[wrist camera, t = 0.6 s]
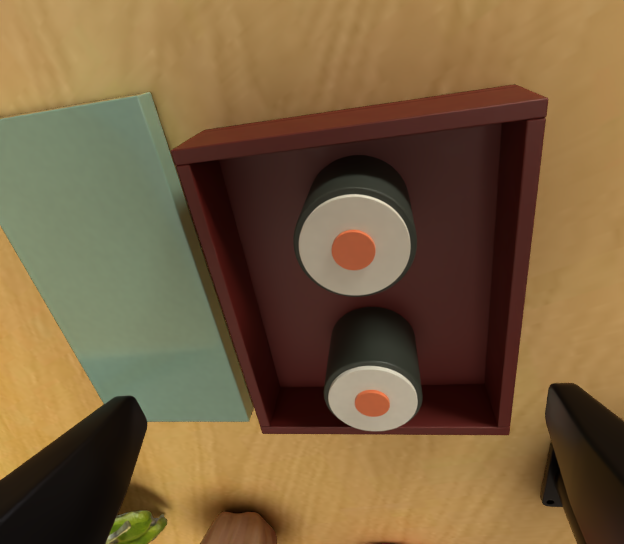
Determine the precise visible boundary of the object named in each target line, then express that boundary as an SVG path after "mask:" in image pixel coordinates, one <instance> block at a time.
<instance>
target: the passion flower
mask: <svg viewBox="0 0 624 544" xmlns="http://www.w3.org/2000/svg"><path fill="white" fill-rule="evenodd" d="M166 525H167V519H166V518H165V517H164V514H161V515H160V517H159V518H153V516H152V514H151V512H149V511H147V510H145V511H132V512H127V513H125V514H121V515H117V517H116V519H115V522H114V524H113V527H112V529H111V531H110V534H109V536H108V539H107V541H106V543H105V544H148V543H149V542H151V541H153V540H154V539H155V538H156V537H157V535H158V534H159V533H160V532H161V531H162V530H163V529H164V528H165V526H166Z"/></svg>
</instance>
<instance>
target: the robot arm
mask: <svg viewBox="0 0 624 544" xmlns="http://www.w3.org/2000/svg"><path fill="white" fill-rule="evenodd" d="M545 418H546V424H547V428H548V431H549V434H550V438H551V441H552V442H551V444H550V449H549V454H548V459H547V465H546V470H545V475H544V480H543V485H542V490H541V495H540V497H541V500H542V503H543V504H544V505H545V506H551V507H563V509H564V511H565V514H566V516H567V519H568V521H569V524H570V527H571V529H572V532H573V534H574V537H575V539H576V542H577V544H624V421H623V420H621V419H620V418H619V417H618V416H616V415H615V414H614V413H612V412H611V411H610V410H609V409H607V408H606V407H605V406H603V405H602V404H601V403H600V402H598V401H597V400H596V399H594V398H593V397H592V396H591V395H589V394H588V393H587V392H585V391H584V390H583V389H582V388H580V387H579V386H578V385H576V384H574V383H554V384H551V385H550V387H549V390H548V397H547V404H546V411H545ZM146 430H147V419H146V416H145V414H144V413H143V411H142V409H141V407H140V405H139V403H138V402H137V400H136V398H135V397H133V396H131V395H127V396H116V397H114V398H112V399H111V400H109V401H108V402H107V403H105V404H104V405H103V406H101V407H100V408H98V409H97V410H96V411H94V412H93V413H92V414H90V415H89V416H88V417H86V418H85V419H83V420H82V421H81V422H79V423H78V424H77V425H75V426H74V427H73V428H71V429H70V430H68V431H67V432H66V433H64V434H63V435H62V436H60V437H59V438H58V439H56V440H55V441H53V442H52V443H51V444H49V445H48V446H47V447H45V448H44V449H43V450H41V451H40V452H38V453H37V454H36V455H34V456H33V457H32V458H30V459H29V460H27V461H26V462H25V463H23V464H22V465H21V466H19V467H18V468H17V469H15V470H14V471H12V472H11V473H10V474H8V475H7V476H6V477H4V478H3V479H2V480H0V544H105V543H106V541H107V539H108V536H109V534H110V531H111V529H112V527H113V524H114V522H115V519H116V517H117V515H118V512H119V510H120V508H121V505H122V503H123V500H124V498H125V495H126V492H127V489H128V487H129V484H130V481H131V477H132V474H133V471H134V468H135V465H136V462H137V458H138V455H139V452H140V449H141V446H142V443H143V439H144V436H145V433H146Z"/></svg>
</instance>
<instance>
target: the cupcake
mask: <svg viewBox="0 0 624 544" xmlns="http://www.w3.org/2000/svg"><path fill="white" fill-rule="evenodd" d="M200 544H277V536H276V534H275V531H274V529H272V528H271V527H270V526H269V524H268V523H267V522H266V521H265V520H264V519H263V518H262V517H261V516H260V515H259V514H258V513H256V512H245V513H239V514H235V513H230V512H222V513H220V514H219V515H218V516H217V518H216V519H215V520H214V522H213V523H212V525H211V526H210V528H209V530H208V531H207V533H206V535H205V536H204V538H203V540H202V541H201V543H200Z"/></svg>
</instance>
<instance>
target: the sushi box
mask: <svg viewBox="0 0 624 544" xmlns="http://www.w3.org/2000/svg"><path fill="white" fill-rule="evenodd" d="M547 106H548V98H546V97H544V96H541V95H539V94H537V93H534V92H532V91H530V90H527V89H525V88H523V87H520V86H517V85H508V86H501V87H494V88H488V89H481V90H474V91H467V92H460V93H454V94H447V95H440V96H433V97H426V98H419V99H413V100H406V101H399V102H392V103H385V104H379V105H372V106H365V107H358V108H351V109H344V110H338V111H331V112H324V113H317V114H310V115H304V116H297V117H290V118H283V119H276V120H270V121H263V122H256V123H249V124H242V125H235V126H229V127H222V128H215V129H208V130H204V131H202V132H200V133H199V134H197V135H195V136H194V137H192V138H190V139H189V140H187V141H186V142H184V143H182V144H181V145H179V146H177V147H176V148H174V149H173V150H171V154H172V157H173V160H174V163H175V165H177V166H176V169H177V172H178V175H179V178H180V181H181V184H182V187H183V190H184V193H185V196H186V199H187V202H188V206H189V209H190V212H191V215H192V218H193V221H194V224H195V227H196V230H197V233H198V236H199V239H200V242H201V245H202V248H203V252H204V255H205V258H206V261H207V264H208V267H209V270H210V273H211V276H212V279H213V282H214V285H215V288H216V291H217V295H218V298H219V301H220V304H221V307H222V310H223V313H224V316H225V319H226V322H227V325H228V328H229V331H230V334H231V338H232V341H233V344H234V347H235V350H236V353H237V356H238V359H239V362H240V365H241V368H242V371H243V374H244V377H245V381H246V384H247V387H248V390H249V393H250V396H251V399H252V402H253V405H254V408H255V411H256V414H257V417H258V420H259V424H260V426H261V430H262V433H263V434H403V435H509V431H510V422H511V413H512V404H513V396H514V387H515V379H516V370H517V362H518V353H519V344H520V336H521V327H522V319H523V310H524V302H525V293H526V284H527V276H528V267H529V259H530V250H531V242H532V233H533V225H534V216H535V207H536V199H537V190H538V182H539V173H540V165H541V156H542V147H543V139H544V130H545V122H546V119H545V117H546V115H547ZM352 155H366V156H371V157H375V158H378V159H380V160H382V161H384V162H386V163H388V164H389V165H391V166H392V167H393V168H394V169H395V170H396V171H397V172H398V173H399V174H400V176H401V177H402V179H403V180H404V182H405V184H406V187H407V190H408V194H409V199H410V204H411V209H412V214H413V219H414V224H415V229H416V235H417V250H416V255H415V258H414V261H413V263H412V265H411V267H410V269H409V270H408V272H407V273H406V274H405V275H404V277H403V278H402V279H401V280H400V281H399V282H397V283H396V284H395V285H393V286H392V287H390V288H389V289H387V290H385V291H383V292H380V293H377V294H374V295H370V296H364V297H348V296H342V295H337V294H334V293H331V292H329V291H327V290H325V289H323V288H321V287H320V286H318V285H317V284H315V283H314V282H313V281H312V280H311V279H310V278H309V277H308V276H307V275H306V274H305V273H304V271H303V270H302V268H301V267H300V265H299V263H298V261H297V258H296V255H295V252H294V245H293V236H294V230H295V227H296V223H297V221H298V218H299V216H300V213H301V211H302V208H303V206H304V203H305V201H306V198H307V195H308V193H309V190H310V188H311V186H312V183H313V181H314V180H315V178H316V177H317V175H318V174H319V173H320V172H321V170H323V169H324V168H325V167H326V166H327V165H329V164H330V163H332V162H333V161H336V160H338V159H340V158H343V157H347V156H352ZM363 307H381V308H385V309H389V310H391V311H394V312H396V313H398V314H399V315H401V316H402V317H403V318H404V319H406V321H407V322H408V323H409V324H410V325H411V327H412V329H413V331H414V334H415V340H416V348H417V356H418V363H419V371H420V379H421V387H422V395H423V400H422V405H421V407H420V409H419V411H418V413H417V414H416V415H415V416H414V417H413V418H412V419H411V420H410V421H409V422H407V423H405V424H403V425H401V426H399V427H397V428H394V429H391V430H386V431H366V430H361V429H357V428H354V427H352V426H350V425H348V424H346V423H344V422H343V421H341V420H340V419H338V418H337V417H336V416H335V415H334V414H333V413H332V412H331V411H330V410H329V408H328V407H327V404H326V402H325V399H324V384H325V377H326V370H327V363H328V356H329V349H330V342H331V334H332V330H333V328H334V326H335V324H336V323H337V322H338V320H339V319H340V318H341V317H343V316H344V315H345V314H347V313H348V312H351V311H353V310H355V309H359V308H363Z"/></svg>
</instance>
